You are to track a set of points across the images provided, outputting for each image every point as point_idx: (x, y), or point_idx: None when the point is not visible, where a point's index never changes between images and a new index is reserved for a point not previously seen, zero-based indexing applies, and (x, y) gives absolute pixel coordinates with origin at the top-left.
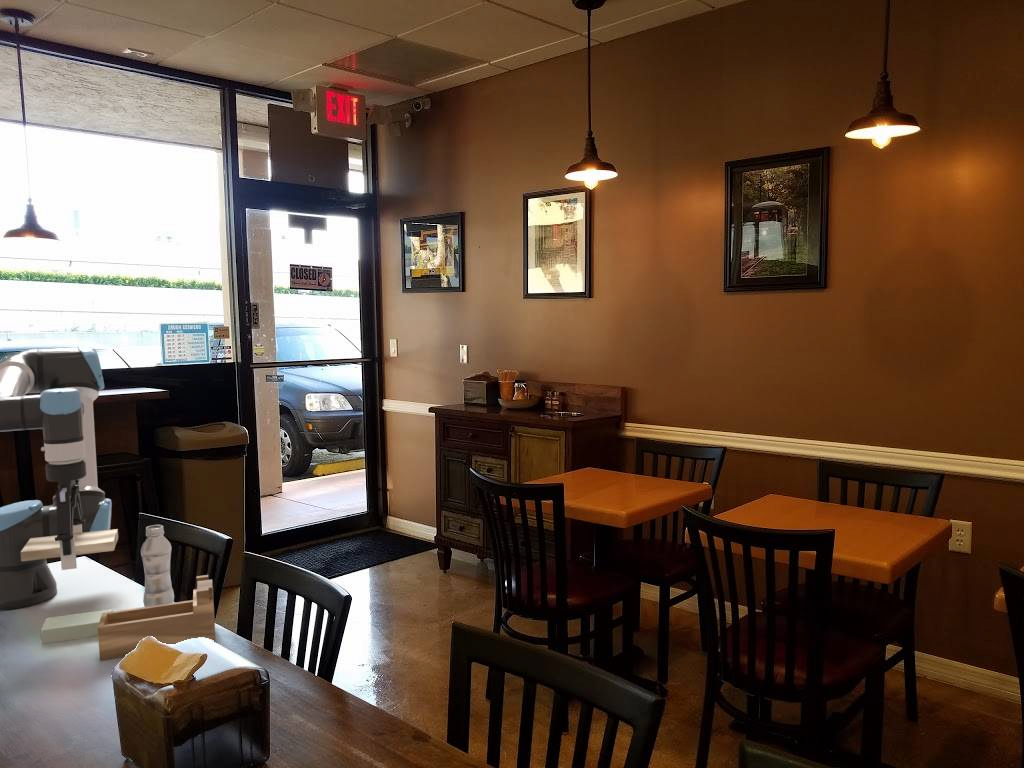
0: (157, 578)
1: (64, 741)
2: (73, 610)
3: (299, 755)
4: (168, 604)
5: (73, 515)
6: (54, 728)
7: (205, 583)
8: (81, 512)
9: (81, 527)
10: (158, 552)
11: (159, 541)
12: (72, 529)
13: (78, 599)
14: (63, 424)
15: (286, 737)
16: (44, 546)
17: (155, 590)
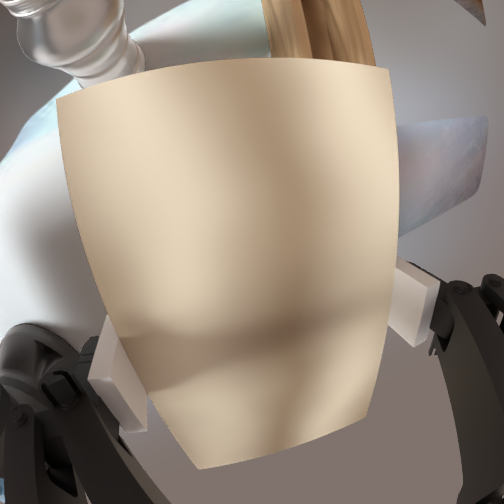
0: (128, 36)
1: (473, 153)
2: (86, 265)
3: (483, 16)
4: (297, 6)
5: (141, 476)
6: (460, 165)
7: None
8: (19, 440)
9: (108, 362)
10: None
11: None
12: (477, 311)
13: (38, 276)
14: None
15: (473, 12)
16: (339, 392)
17: (135, 54)
